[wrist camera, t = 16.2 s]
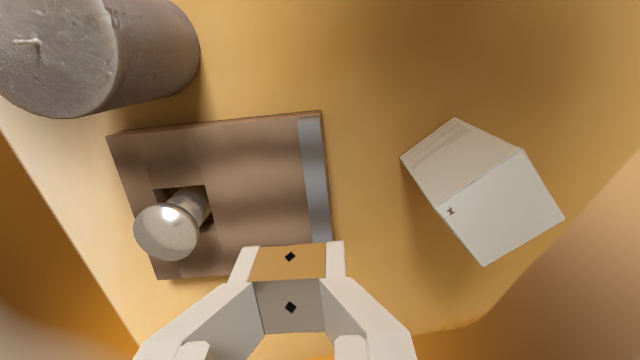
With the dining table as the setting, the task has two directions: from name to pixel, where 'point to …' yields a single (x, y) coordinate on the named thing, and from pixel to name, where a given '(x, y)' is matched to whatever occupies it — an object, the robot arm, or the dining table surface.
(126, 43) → the pillar candle
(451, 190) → the supplement box
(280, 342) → the dining table surface
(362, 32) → the dining table surface
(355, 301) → the robot arm
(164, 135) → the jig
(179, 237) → the frosted bulb shape
